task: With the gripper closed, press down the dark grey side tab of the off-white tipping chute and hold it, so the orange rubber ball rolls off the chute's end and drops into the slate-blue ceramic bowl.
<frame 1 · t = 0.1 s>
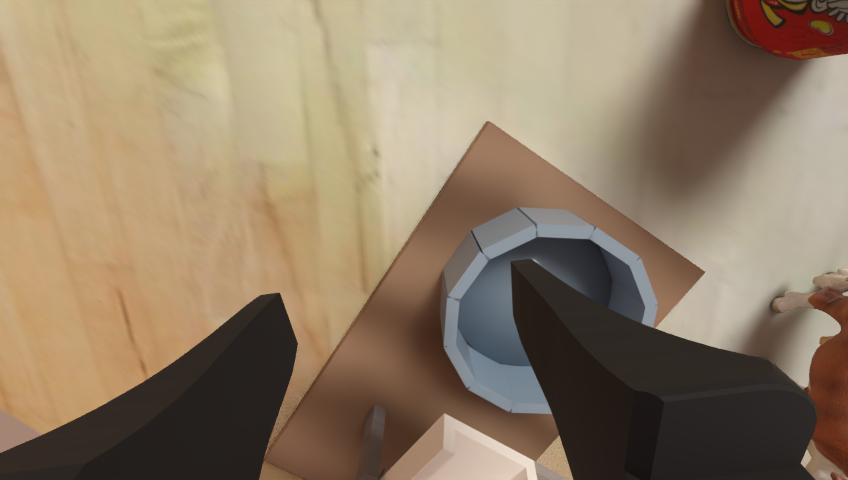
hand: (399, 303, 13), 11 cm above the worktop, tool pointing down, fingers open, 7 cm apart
bull figurine: (776, 344, 26), on the worktop
bowl: (525, 288, 24), resting on base board
base board: (468, 363, 25), on the worktop
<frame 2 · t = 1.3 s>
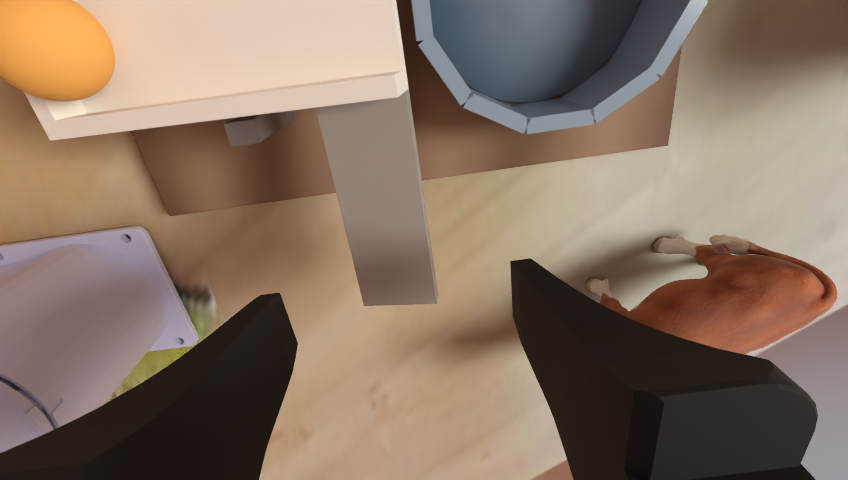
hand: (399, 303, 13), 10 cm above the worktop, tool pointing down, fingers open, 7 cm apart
chute: (248, 152, 14), point 6 cm above the worktop, hinge at -10.0°, touching ball
bull figurine: (620, 280, 25), on the worktop
ball: (49, 46, 12), point 7 cm above the worktop, tilted 13°, touching chute
base board: (389, 10, 18), on the worktop
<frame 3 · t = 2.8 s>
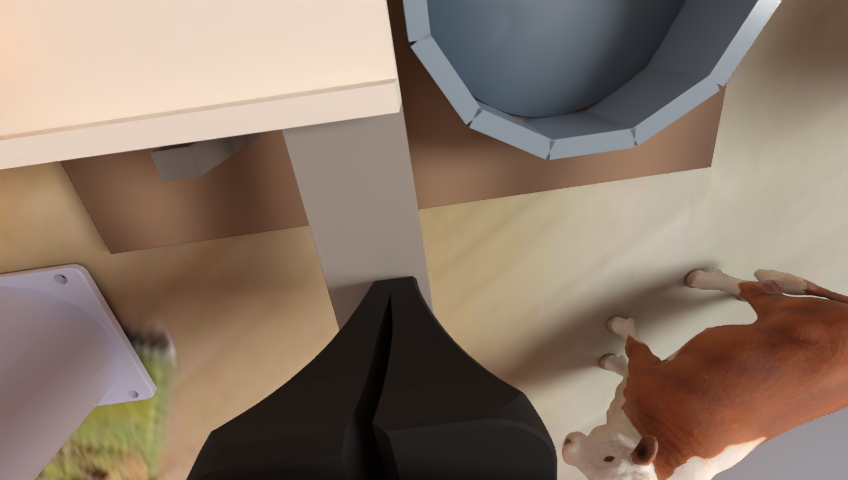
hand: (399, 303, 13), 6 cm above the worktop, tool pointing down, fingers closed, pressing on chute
chute: (189, 187, 11), point 6 cm above the worktop, hinge at -1.8°, touching ball, gripper
bull figurine: (646, 317, 21), on the worktop
base board: (375, 4, 14), on the worktop
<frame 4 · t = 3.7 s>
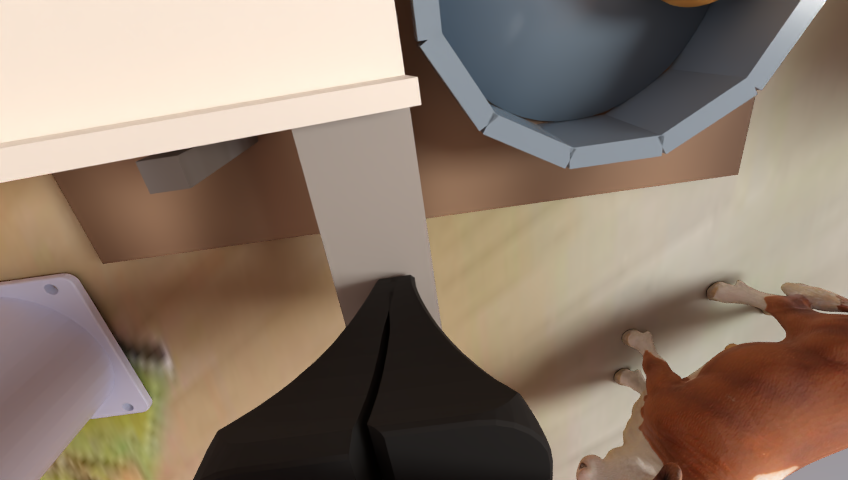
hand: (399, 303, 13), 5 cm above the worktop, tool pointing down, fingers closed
chute: (182, 199, 10), point 6 cm above the worktop, hinge at 13.9°, touching gripper
bull figurine: (664, 331, 20), on the worktop
base board: (381, 1, 13), on the worktop
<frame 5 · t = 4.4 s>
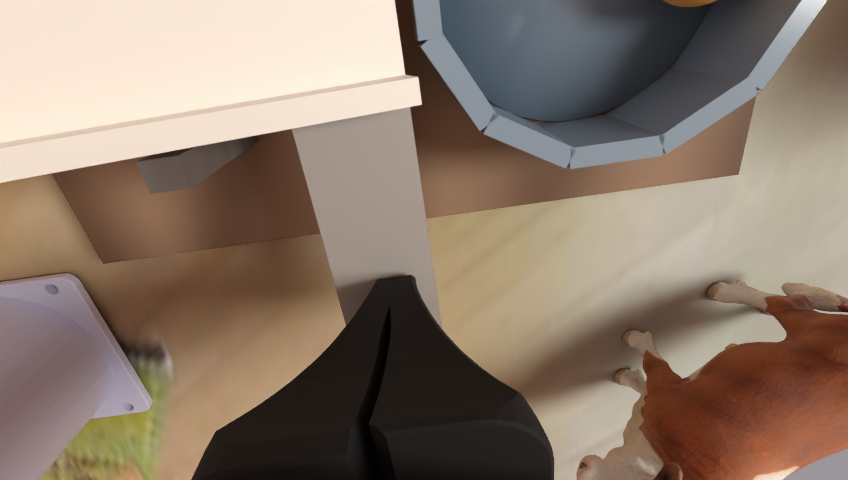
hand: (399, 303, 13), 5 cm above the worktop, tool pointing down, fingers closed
chute: (182, 199, 10), point 6 cm above the worktop, hinge at 14.0°, touching gripper
bull figurine: (664, 331, 20), on the worktop
base board: (381, 1, 13), on the worktop
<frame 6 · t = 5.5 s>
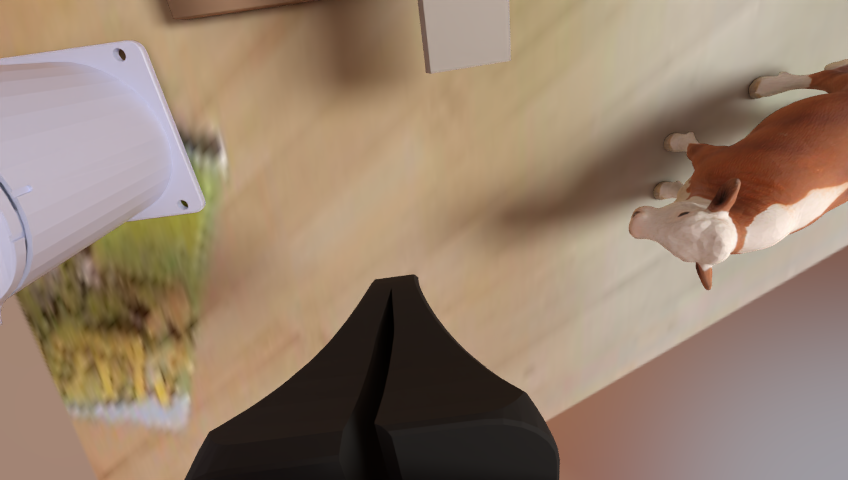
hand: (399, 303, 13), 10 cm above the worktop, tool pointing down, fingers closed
bull figurine: (704, 139, 21), on the worktop
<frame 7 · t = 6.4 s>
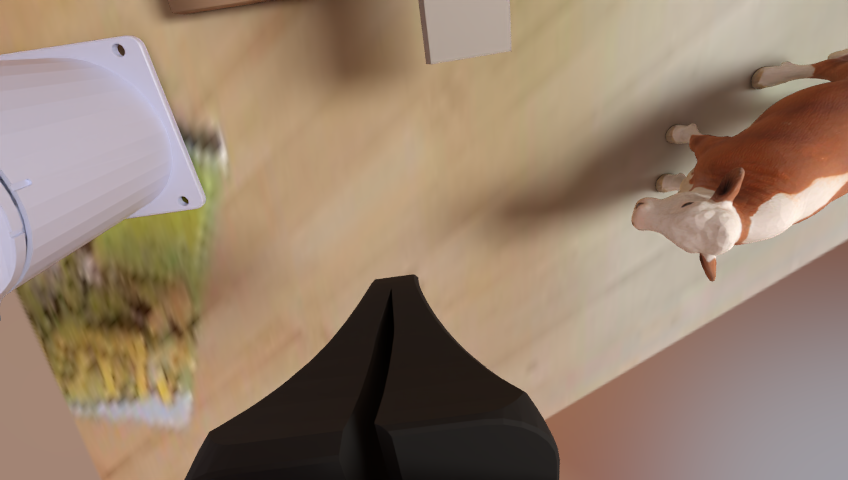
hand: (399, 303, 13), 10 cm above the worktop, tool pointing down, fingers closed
bull figurine: (706, 131, 21), on the worktop
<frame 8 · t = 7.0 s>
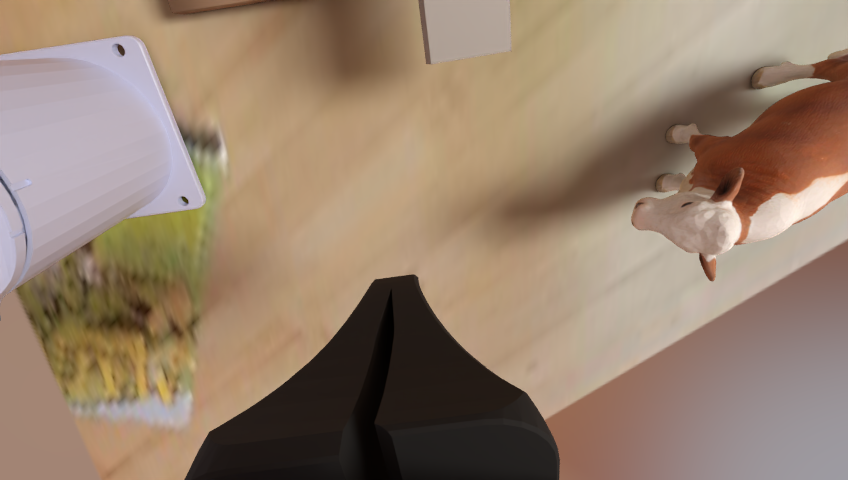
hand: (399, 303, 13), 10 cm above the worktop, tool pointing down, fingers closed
bull figurine: (706, 131, 21), on the worktop
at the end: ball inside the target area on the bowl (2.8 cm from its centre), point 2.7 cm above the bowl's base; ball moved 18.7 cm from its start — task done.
